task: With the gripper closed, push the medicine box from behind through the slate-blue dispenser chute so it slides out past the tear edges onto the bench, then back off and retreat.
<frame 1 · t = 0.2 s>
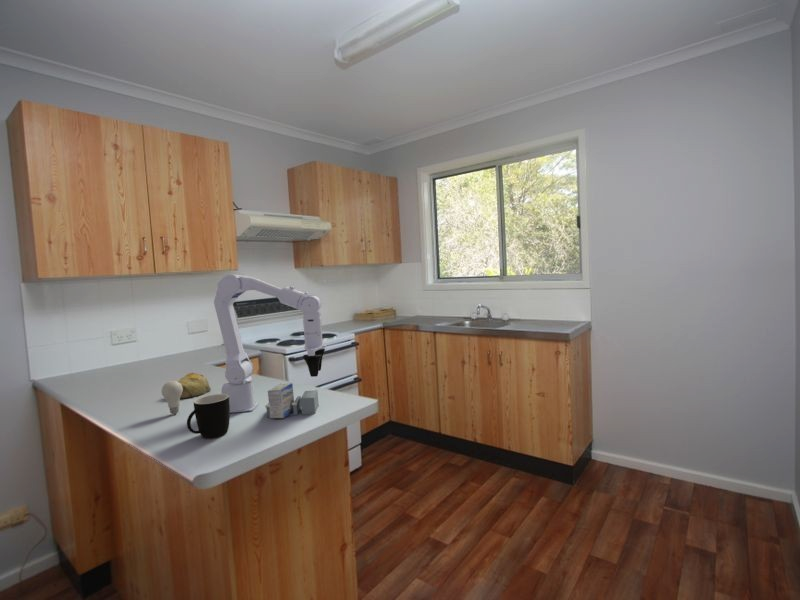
hand: (315, 373, 139), 10 cm above the countertop, fingers open, 7 cm apart
mug: (210, 437, 116), on the countertop
lightbulb: (174, 414, 138), on the countertop
pastry: (190, 395, 162), on the countertop
dispenser: (284, 411, 133), on the countertop
medicine box: (282, 414, 130), on the countertop, touching dispenser
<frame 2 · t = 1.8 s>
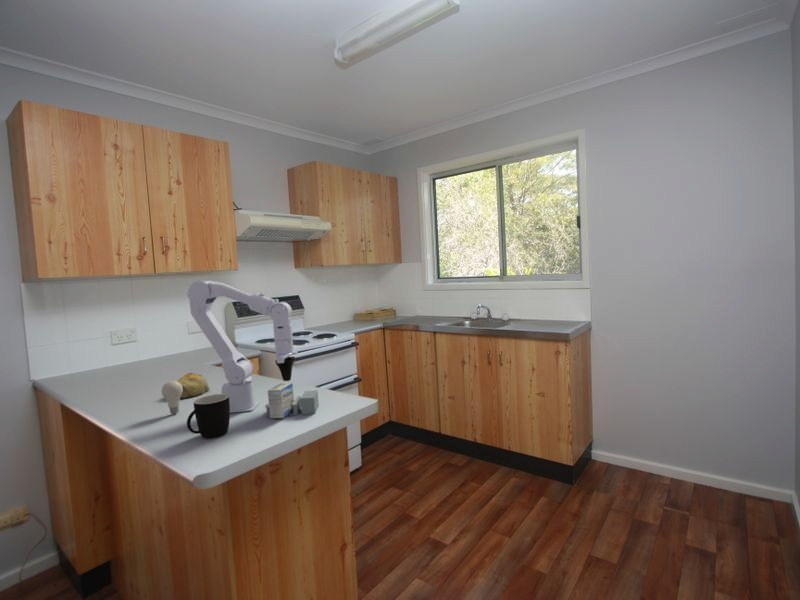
hand: (287, 380, 139), 8 cm above the countertop, fingers closed
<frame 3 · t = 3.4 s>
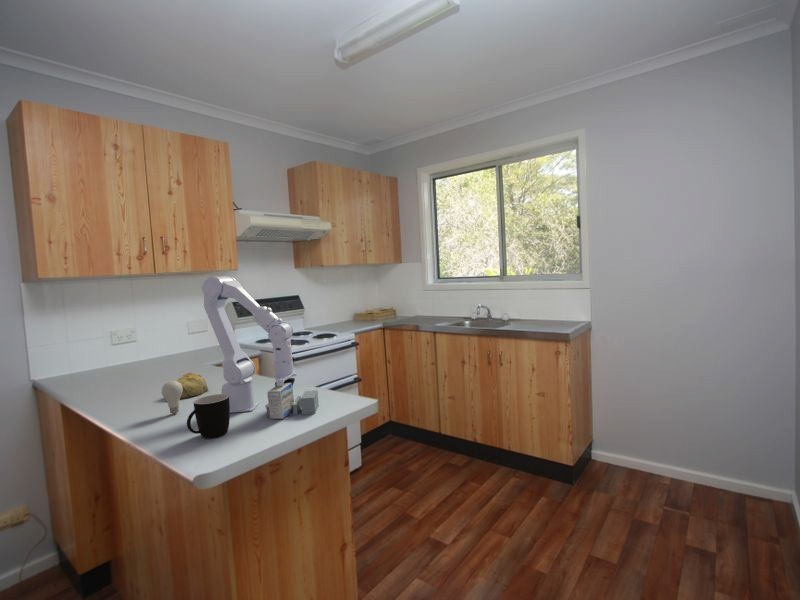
hand: (286, 402, 136), 2 cm above the countertop, fingers closed
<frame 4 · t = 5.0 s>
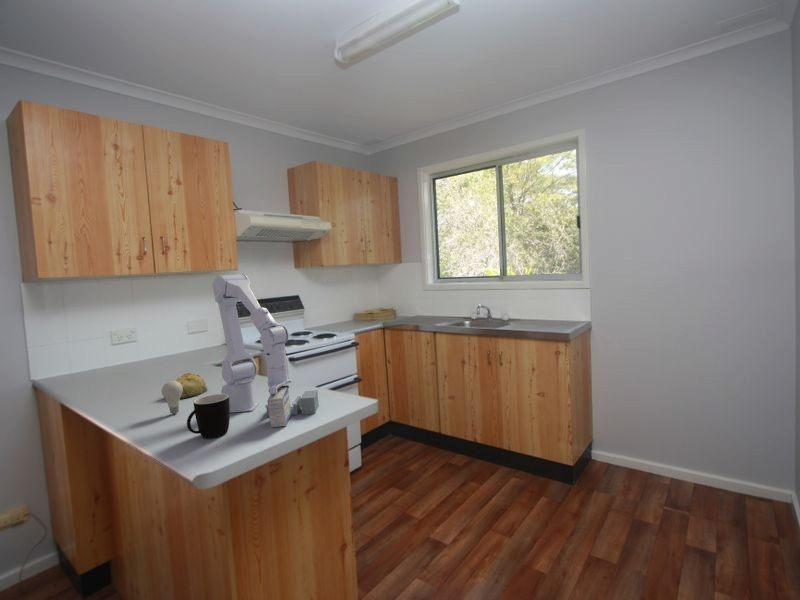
hand: (280, 410, 128), 2 cm above the countertop, fingers closed, pressing on medicine box
medicine box: (281, 421, 124), on the countertop, touching gripper
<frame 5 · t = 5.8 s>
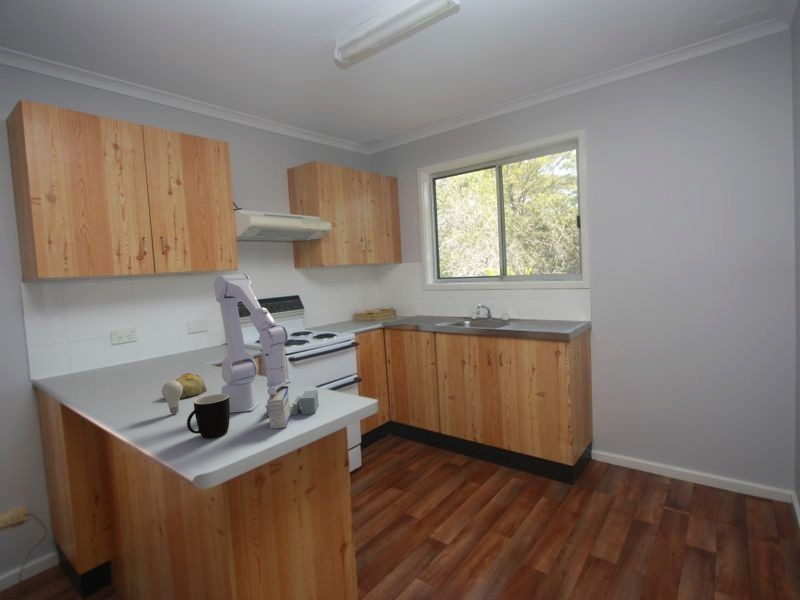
hand: (280, 411, 127), 2 cm above the countertop, fingers closed, pressing on medicine box
medicine box: (281, 422, 123), on the countertop, touching gripper
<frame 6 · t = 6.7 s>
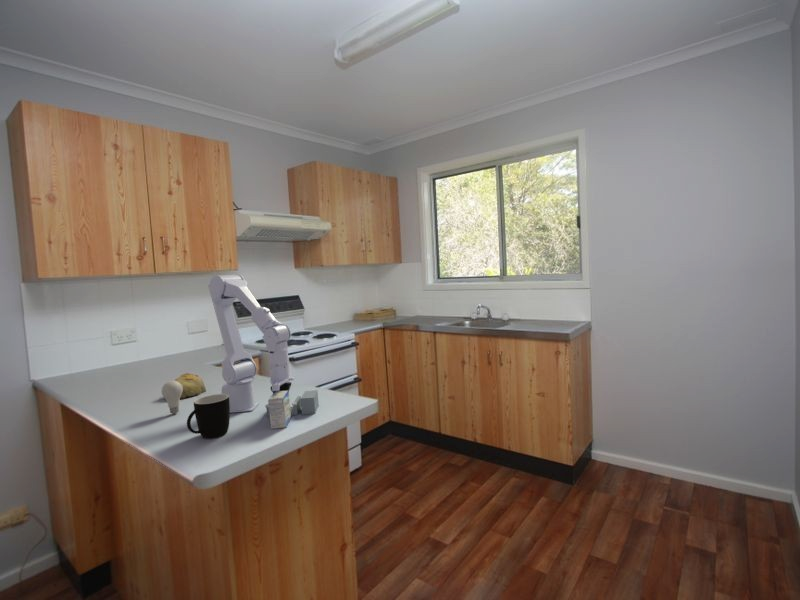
hand: (282, 407, 131), 2 cm above the countertop, fingers closed
medicine box: (281, 424, 123), on the countertop
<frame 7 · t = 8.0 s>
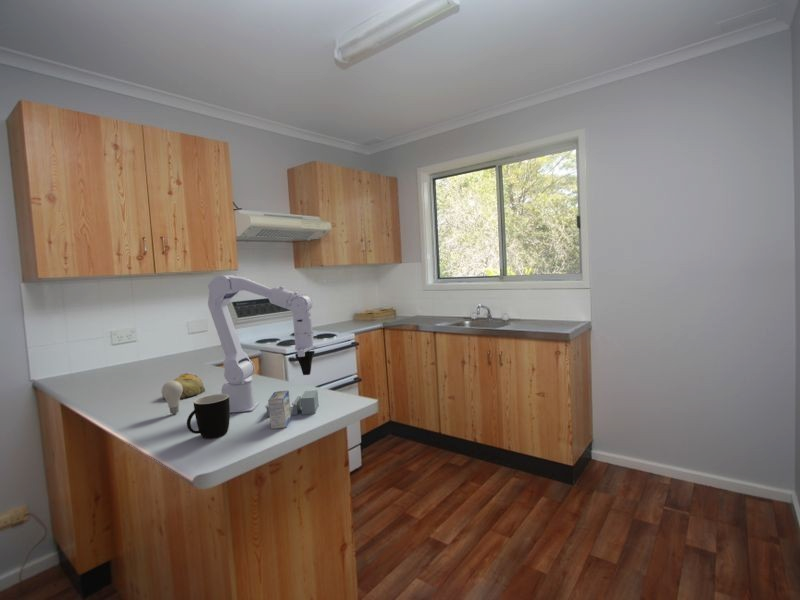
hand: (306, 374, 137), 10 cm above the countertop, fingers closed
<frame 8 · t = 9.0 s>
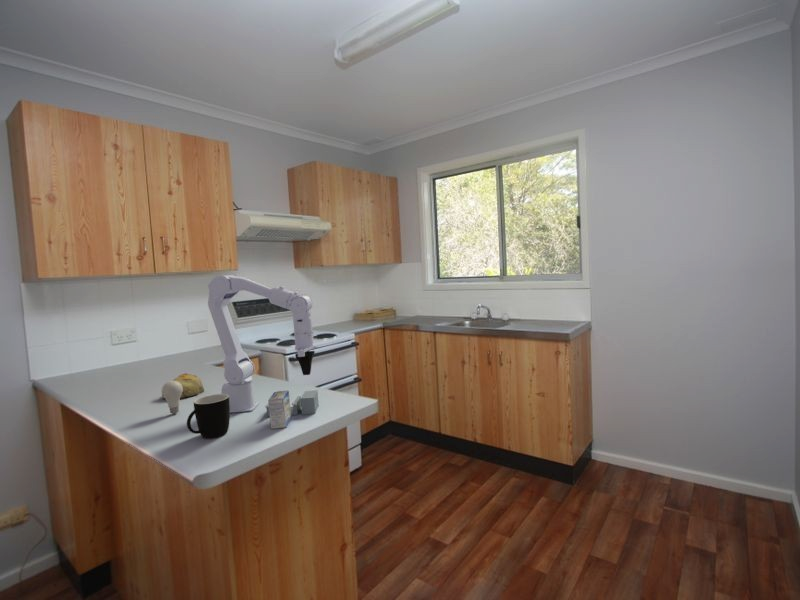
hand: (306, 374, 137), 10 cm above the countertop, fingers closed
at the end: medicine box inside the target area (5.9 cm from its centre), on the countertop; medicine box tilted 0°; medicine box touching countertop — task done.
